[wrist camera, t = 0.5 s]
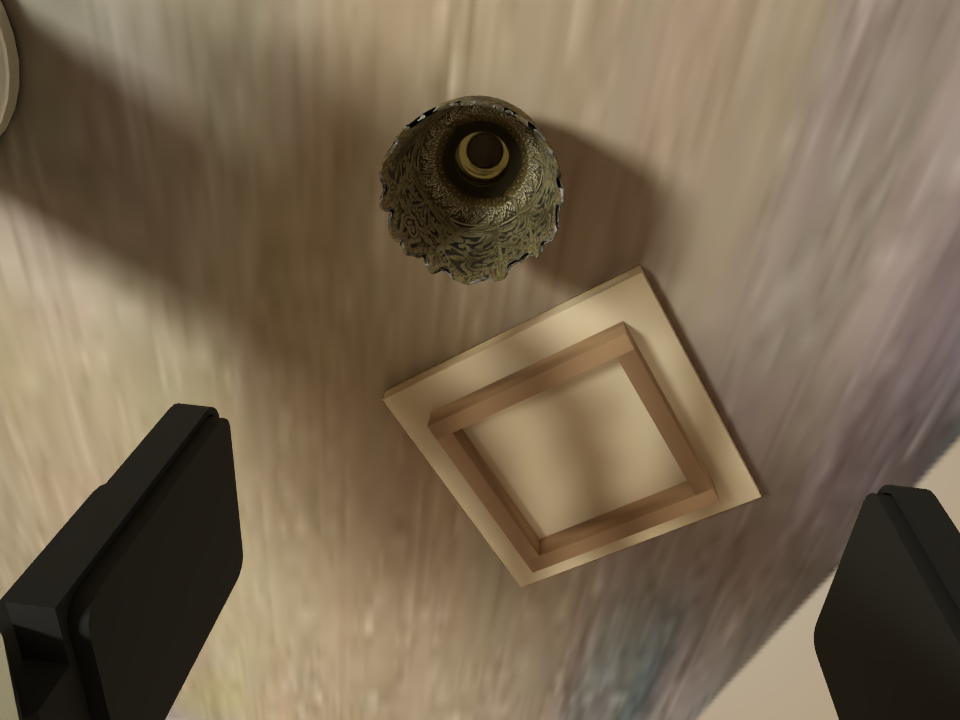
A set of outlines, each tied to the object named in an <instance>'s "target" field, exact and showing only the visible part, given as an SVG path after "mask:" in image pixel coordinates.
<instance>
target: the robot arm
mask: <svg viewBox="0 0 960 720" xmlns="http://www.w3.org/2000/svg"><path fill="white" fill-rule="evenodd" d="M18 91H19V58H18V53H17V48H16V43H15V38H14V33H13V31H12V28H11V25H10V22H9V20H8V17H7V14H6V11H5V8H4V6H3V4H2V2H1V0H0V136H1V135H2V133H3V132H4V131H5V130H6V128H7V126H8V124H9V122H10V119H11V117H12V115H13V112H14V110H15V107H16V101H17V96H18ZM242 561H243V549H242V540H241V530H240V520H239V510H238V500H237V490H236V480H235V471H234V461H233V451H232V441H231V431H230V425H229V422H228V420H227V419H225V418H219V414H218V412H217V410H216V409H215V408H213V407H206V406H197V405H189V404H180V403H178V404H174V405H173V406H172V407H171V408H170V409H169V410H168V411H167V412H166V413H165V415H164V416H163V417H162V418H161V419H160V420H159V422H158V423H157V424H156V425H155V426H154V428H153V429H152V430H151V431H150V432H149V433H148V435H147V436H146V437H145V438H144V439H143V440H142V442H141V443H140V444H139V445H138V446H137V448H136V449H135V450H134V451H133V452H132V453H131V455H130V456H129V457H128V458H127V459H126V460H125V462H124V463H123V464H122V465H121V466H120V468H119V469H118V470H117V471H116V472H115V473H114V475H113V476H112V477H111V478H110V479H109V480H108V482H107V483H106V484H104V485H101V486H99V487H98V488H97V489H96V490H95V491H94V492H93V493H92V494H91V495H90V496H89V497H88V498H87V500H86V501H85V502H84V503H83V504H82V505H81V507H80V508H79V509H78V510H77V511H76V512H75V514H74V515H73V516H72V517H71V518H70V519H69V521H68V522H67V523H66V524H65V525H64V526H63V528H62V529H61V530H60V531H59V532H58V533H57V535H56V536H55V537H54V538H53V539H52V540H51V541H50V543H49V544H48V545H47V546H46V547H45V548H44V550H43V551H42V552H41V553H40V554H39V555H38V557H37V558H36V559H35V560H34V561H33V562H32V564H31V565H30V566H29V567H28V568H27V569H26V571H25V572H24V573H23V574H22V575H21V576H20V578H19V579H18V580H17V581H16V582H15V583H14V585H13V586H12V587H11V588H10V589H9V590H8V592H7V593H6V594H5V595H4V596H3V597H2V598H1V600H0V720H165V719H166V717H167V715H168V713H169V711H170V709H171V707H172V705H173V703H174V701H175V699H176V697H177V695H178V694H179V692H180V690H181V688H182V686H183V684H184V682H185V680H186V678H187V676H188V674H189V672H190V670H191V668H192V666H193V665H194V663H195V661H196V659H197V657H198V655H199V653H200V651H201V649H202V647H203V645H204V643H205V641H206V639H207V637H208V635H209V634H210V632H211V630H212V628H213V626H214V624H215V622H216V620H217V618H218V616H219V614H220V612H221V610H222V608H223V606H224V605H225V603H226V601H227V599H228V597H229V595H230V593H231V591H232V589H233V587H234V585H235V583H236V581H237V579H238V577H239V574H240V571H241V567H242ZM814 646H815V651H816V654H817V657H818V660H819V663H820V666H821V669H822V671H823V674H824V677H825V680H826V683H827V686H828V688H829V692H830V695H831V697H832V700H833V703H834V706H835V709H836V712H837V715H838V718H839V720H960V533H959V531H958V530H957V528H956V527H955V525H954V523H953V522H952V520H951V519H950V518H949V516H948V514H947V513H946V512H945V510H944V508H943V507H942V505H941V504H940V503H939V501H938V499H937V498H936V496H935V495H934V494H933V493H932V492H931V491H930V490H927V489H920V488H912V487H903V486H894V485H885V486H883V487H882V488H881V489H880V490H879V491H878V493H877V494H875V493H871V494H869V495H867V496H866V498H865V500H864V502H863V504H862V507H861V510H860V512H859V515H858V517H857V520H856V523H855V525H854V528H853V530H852V533H851V535H850V538H849V541H848V543H847V546H846V548H845V551H844V553H843V556H842V559H841V561H840V564H839V566H838V569H837V571H836V574H835V577H834V579H833V582H832V584H831V587H830V590H829V592H828V595H827V597H826V600H825V603H824V605H823V608H822V610H821V613H820V615H819V618H818V621H817V623H816V626H815V631H814Z"/></svg>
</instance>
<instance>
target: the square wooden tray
mask: <svg viewBox="0 0 960 720" xmlns="http://www.w3.org/2000/svg"><path fill="white" fill-rule="evenodd" d="M383 401H384V403H385V404H386V405H387V407H388V408H389V409H390V411H391V412H392V413H393V415H394V416H395V417H396V419H397V420H398V422H399V423H400V424H401V426H402V427H403V428H404V430H405V431H406V432H407V434H408V435H409V436H410V438H411V439H412V440H413V442H414V443H415V445H416V446H417V447H418V449H419V450H420V451H421V453H422V454H423V455H424V457H425V458H426V459H427V461H428V462H429V464H430V465H431V466H432V468H433V469H434V470H435V472H436V473H437V474H438V476H439V477H440V478H441V480H442V481H443V482H444V484H445V485H446V487H447V488H448V489H449V491H450V492H451V493H452V495H453V496H454V497H455V499H456V500H457V501H458V503H459V504H460V505H461V507H462V508H463V510H464V511H465V512H466V514H467V515H468V516H469V518H470V519H471V520H472V522H473V523H474V524H475V526H476V527H477V528H478V530H479V531H480V533H481V534H482V535H483V537H484V538H485V539H486V541H487V542H488V543H489V545H490V546H491V547H492V549H493V550H494V552H495V553H496V554H497V556H498V557H499V558H500V560H501V561H502V562H503V564H504V565H505V566H506V568H507V569H508V570H509V572H510V573H511V575H512V576H513V577H514V579H515V580H516V581H517V583H518V584H519V585H520V587H524V586H526V585H529V584H532V583H534V582H537V581H540V580H542V579H545V578H548V577H550V576H553V575H556V574H558V573H561V572H563V571H566V570H569V569H571V568H574V567H577V566H579V565H582V564H585V563H587V562H590V561H593V560H595V559H598V558H601V557H603V556H606V555H609V554H611V553H614V552H616V551H619V550H622V549H624V548H627V547H630V546H632V545H635V544H638V543H640V542H643V541H646V540H648V539H651V538H654V537H656V536H659V535H662V534H664V533H667V532H670V531H672V530H675V529H677V528H680V527H683V526H685V525H688V524H691V523H693V522H696V521H699V520H701V519H704V518H707V517H709V516H712V515H715V514H717V513H720V512H723V511H725V510H728V509H730V508H733V507H736V506H738V505H741V504H744V503H746V502H749V501H752V500H754V499H757V498H760V497H761V495H760V493H759V490H758V487H757V485H756V483H755V481H754V479H753V477H752V476H751V474H750V472H749V470H748V468H747V466H746V464H745V462H744V460H743V459H742V457H741V455H740V453H739V451H738V449H737V447H736V445H735V443H734V442H733V440H732V438H731V436H730V434H729V432H728V430H727V428H726V426H725V425H724V423H723V421H722V419H721V417H720V415H719V413H718V411H717V409H716V408H715V406H714V404H713V402H712V400H711V398H710V396H709V394H708V392H707V391H706V389H705V387H704V385H703V383H702V381H701V379H700V377H699V375H698V374H697V372H696V370H695V368H694V366H693V364H692V362H691V360H690V358H689V357H688V355H687V353H686V351H685V349H684V347H683V345H682V343H681V341H680V340H679V338H678V336H677V334H676V332H675V330H674V328H673V326H672V324H671V323H670V321H669V319H668V317H667V315H666V313H665V311H664V309H663V307H662V306H661V304H660V302H659V300H658V298H657V296H656V294H655V292H654V290H653V289H652V287H651V285H650V283H649V281H648V279H647V277H646V275H645V273H644V271H643V270H642V268H641V266H640V265H639V266H637V267H635V268H633V269H631V270H629V271H627V272H625V273H623V274H621V275H619V276H617V277H615V278H613V279H611V280H609V281H607V282H605V283H603V284H601V285H599V286H596V287H594V288H592V289H590V290H588V291H586V292H584V293H582V294H580V295H578V296H576V297H574V298H572V299H570V300H568V301H566V302H564V303H562V304H560V305H558V306H556V307H554V308H552V309H550V310H548V311H546V312H544V313H542V314H540V315H538V316H536V317H534V318H532V319H530V320H528V321H526V322H524V323H522V324H520V325H518V326H516V327H514V328H512V329H510V330H508V331H506V332H504V333H502V334H500V335H498V336H496V337H493V338H491V339H489V340H487V341H485V342H483V343H481V344H479V345H477V346H475V347H473V348H471V349H469V350H467V351H465V352H463V353H461V354H459V355H457V356H455V357H453V358H451V359H449V360H447V361H445V362H443V363H441V364H439V365H437V366H435V367H433V368H431V369H429V370H427V371H425V372H423V373H421V374H419V375H417V376H415V377H413V378H411V379H409V380H407V381H405V382H403V383H401V384H399V385H397V386H395V387H393V388H390V389H388V390H386V392H385V394H384V397H383Z"/></svg>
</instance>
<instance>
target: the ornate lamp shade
mask: <svg viewBox="0 0 960 720" xmlns="http://www.w3.org/2000/svg"><path fill="white" fill-rule="evenodd" d="M481 134H488V135H491V136H493V137H494V138H496V139H497V140H498V142H499V143H500V146H501V157H500V159H499V161H498V162H497V163H496V164H495V165H494V166H492V167H489V168H481V167H478V166H476V165H475V164H474V163H473V162H472V161H471V160H470V158H469V155H468V147H469V144H470V142H471V141H472V139H473V138H475V137H476V136H478V135H481ZM380 181H381V183H382V187H383V193H382V195H381V197H380V200H379V207H380V210H384V211H386V212H390V215H389V220H388V229H389V233H390V235H391V237H392V238H393V239H394V240H395V241H396V242H400V245H401V246H402V248H403V252H404V254H405V255H408V256H415V257H416V258H421V257H423V258H424V261H425V266H426V267H427V268H428V270H429V272H430V273H431V274H435V273H438V272H439V271H444V272H446V273H448V274H449V275H450V277H451V278H452V279H454V280H456V281H458V282H461V283H463V284H465V285H470V284H475V283H477V282H480V281H485V280H487V279H489V278H491V280H492V281H499V280H503V279H504V278H506V277H507V276H508V271H509V269H510V267H511V266H513V265H515V264H517V263H522V262H523V261H525V259H526V258H527V257H529V256H530V255H531V256H534V257H535V258H537V257H539V256H540V255H541V253H542V251H543V249H544V245H545V244H546V243H549V242H550V241H552V240H553V239H554V238H555V236H556V234H557V231H558V228H559V214H560V207H561V205H563V203H564V188H563V187H562V183H561V172H560V167H559V164H558V162H557V159H556V156H555V154H554V153H553V149H552V148H551V146H550V145H549V143H548V141H547V140H546V138H545V136H544V135H543V133H542V132H541V130H540V129H539V127H538V126H537V125H536V124H535V122H534V121H533V120H532V119H531V118H530V117H529V116H528V115H527V114H525V113H524V112H523V111H522V110H520V109H519V108H517V107H516V106H514V105H512V104H510V103H508V102H506V101H503V100H500V99H497V98H493V97H488V96H467V97H461V98H457V99H453V100H450V101H448V102H445V103H443V104H440V105H438V106H436V107H435V108H433V109H431V110H429V111H427V112H425V113H423V114H422V115H421V116H419V117H418V118H416V119H415V120H414V121H413V122H412V123H410V124H408V125H406V126H405V127H404V128H403V129H402V130H401V131H400V132H399V133H398V135H397V136H396V138H395V142H394V143H393V145H392V146H391V148H390V149H389V150H388V152H387V154H386V155H385V157H384V159H383V162H382V164H381V168H380ZM388 210H389V211H388Z"/></svg>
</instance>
